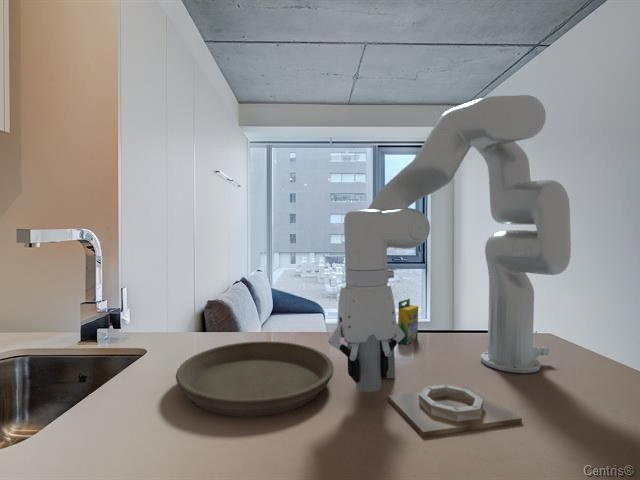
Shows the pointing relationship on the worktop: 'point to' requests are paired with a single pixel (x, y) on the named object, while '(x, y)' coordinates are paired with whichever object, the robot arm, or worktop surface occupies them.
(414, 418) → the tan board with ring
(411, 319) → the crayon box
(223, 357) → the plant saucer
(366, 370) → the grey tube
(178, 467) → the worktop surface
